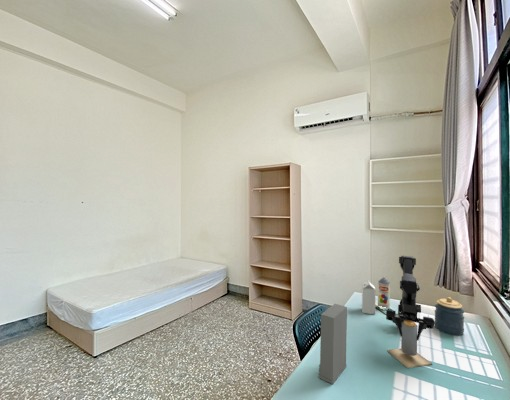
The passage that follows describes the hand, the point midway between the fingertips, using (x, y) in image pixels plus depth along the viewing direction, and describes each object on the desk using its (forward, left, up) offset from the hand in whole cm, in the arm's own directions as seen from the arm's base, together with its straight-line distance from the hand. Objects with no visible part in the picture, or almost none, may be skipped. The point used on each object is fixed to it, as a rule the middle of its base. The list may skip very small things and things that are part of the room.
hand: (409, 338), depth 115 cm
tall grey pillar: (+37, +2, -9) cm, 38 cm away
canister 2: (-42, -19, -9) cm, 47 cm away
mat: (-1, -1, -9) cm, 9 cm away
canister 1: (-1, -1, -7) cm, 7 cm away
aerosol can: (-26, -50, -9) cm, 57 cm away
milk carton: (-13, -47, -9) cm, 50 cm away
